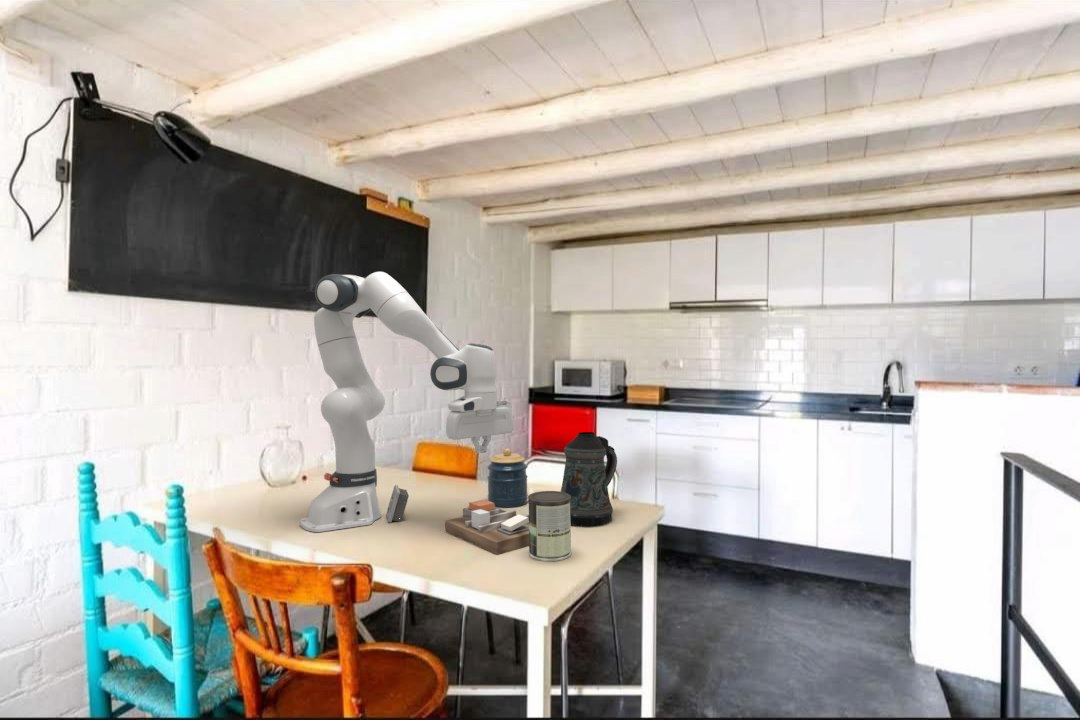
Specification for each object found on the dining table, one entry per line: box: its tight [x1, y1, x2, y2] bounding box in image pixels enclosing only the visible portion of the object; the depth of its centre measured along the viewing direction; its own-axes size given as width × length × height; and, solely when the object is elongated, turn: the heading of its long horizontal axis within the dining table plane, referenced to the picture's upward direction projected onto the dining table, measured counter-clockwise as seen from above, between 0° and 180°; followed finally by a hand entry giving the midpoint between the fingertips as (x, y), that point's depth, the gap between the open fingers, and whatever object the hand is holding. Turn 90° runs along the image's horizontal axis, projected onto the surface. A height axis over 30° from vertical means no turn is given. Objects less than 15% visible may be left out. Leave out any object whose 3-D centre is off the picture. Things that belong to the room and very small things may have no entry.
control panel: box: [444, 506, 529, 556], centre depth 155 cm, size 18×24×6 cm
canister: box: [486, 447, 529, 508], centre depth 188 cm, size 13×13×18 cm
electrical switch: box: [386, 484, 410, 524], centre depth 172 cm, size 9×5×9 cm, turn 18°
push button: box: [468, 499, 495, 511], centre depth 161 cm, size 5×5×2 cm
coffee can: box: [527, 490, 572, 562], centre depth 140 cm, size 10×10×14 cm
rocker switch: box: [501, 513, 529, 531], centre depth 149 cm, size 6×4×1 cm, turn 130°
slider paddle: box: [471, 509, 490, 529], centre depth 151 cm, size 3×4×4 cm
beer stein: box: [560, 431, 618, 528], centre depth 170 cm, size 16×19×25 cm
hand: (481, 452), depth 160 cm, fingers closed
